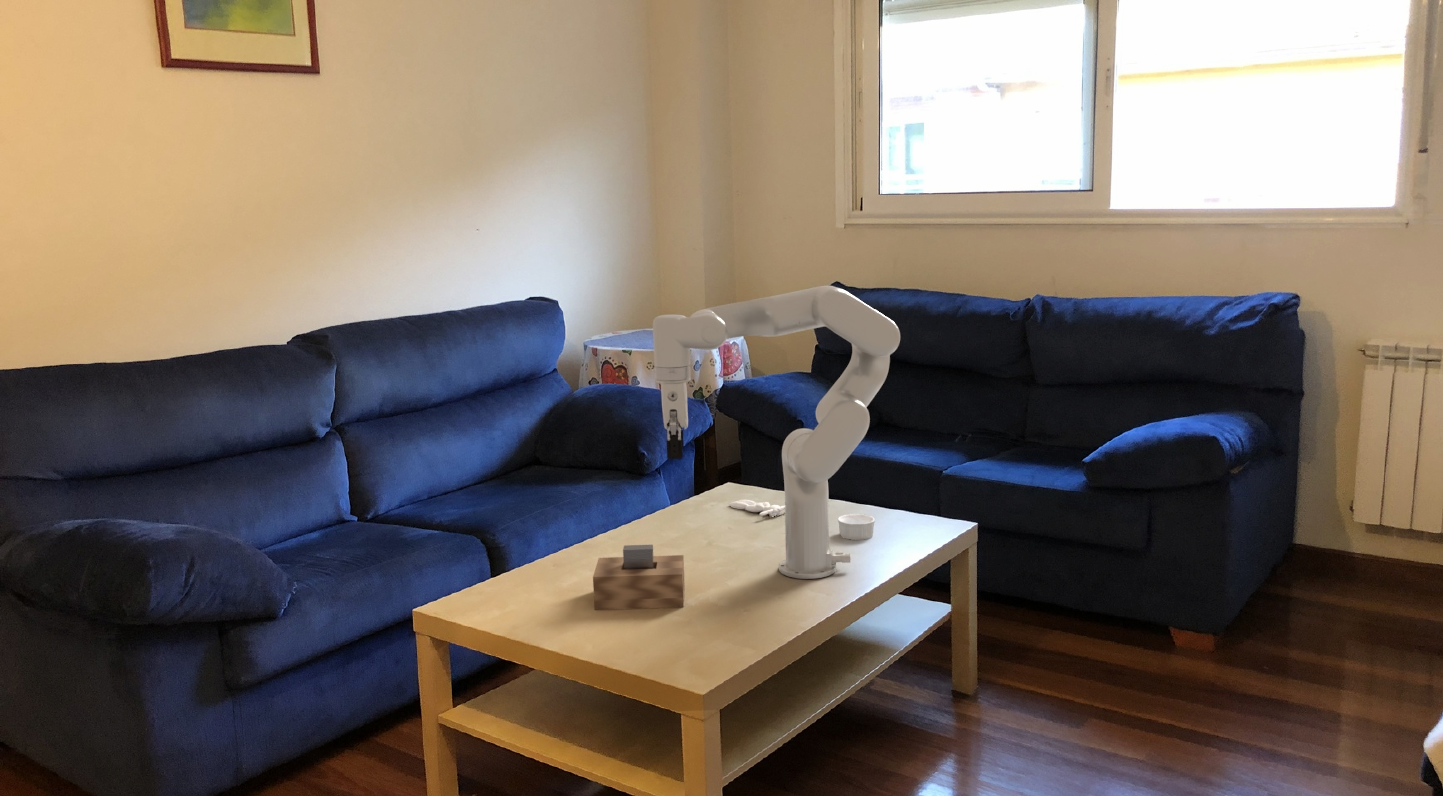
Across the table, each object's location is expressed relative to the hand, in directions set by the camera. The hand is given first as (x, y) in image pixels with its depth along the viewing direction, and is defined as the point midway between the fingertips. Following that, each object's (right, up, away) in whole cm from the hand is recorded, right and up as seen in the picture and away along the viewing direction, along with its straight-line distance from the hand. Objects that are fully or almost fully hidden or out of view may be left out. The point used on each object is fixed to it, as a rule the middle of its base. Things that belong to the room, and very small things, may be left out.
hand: (675, 453), depth 233 cm
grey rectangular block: (-7, -28, -5) cm, 29 cm away
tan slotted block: (-7, -30, -5) cm, 31 cm away
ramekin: (+42, -22, +33) cm, 58 cm away
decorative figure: (+19, -19, +56) cm, 62 cm away
